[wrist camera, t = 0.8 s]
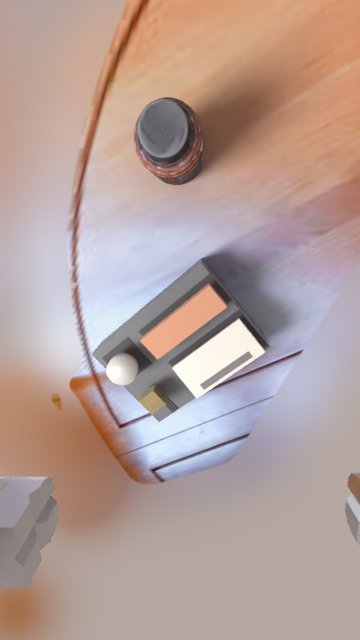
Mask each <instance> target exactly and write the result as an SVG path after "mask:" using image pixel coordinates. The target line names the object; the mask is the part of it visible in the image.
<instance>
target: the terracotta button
mask: <svg viewBox="0 0 360 640" xmlns="http://www.w3.org/2000/svg"><path fill="white" fill-rule="evenodd" d="M225 308H227V304H226V303H225V301H224V300H223V299H222V298H221V296H220V295H219V294H218V293H217V292H216V290H215V289H214V288H213V287H212V286H211V284H210V283H208V284H207V285H206V286H205V287H203V288H202V289H201V290H200V291H198V292H197V293H196V294H195V295H193V296H192V297H191V298H190V299H188V300H187V301H186V302H185V303H183V304H182V305H181V306H180V307H178V308H177V309H176V310H175V311H173V312H172V313H171V314H170V315H168V316H167V317H166V318H165V319H163V320H162V321H161V322H160V323H158V324H157V325H156V326H155V327H153V328H152V329H151V330H150V331H148V332H147V333H146V334H145V335H143V336H142V338H141V340H140V342H141V343H142V344H143V345H144V346H145V347H146V348H147V349H148V350H149V351H150V352H151V353H152V354H153V355H154V356H155V357H156V359H157V360H158V359H159V358H161V357H162V356H163V355H164V354H166V353H167V352H168V351H170V350H171V349H172V348H174V347H175V346H176V345H178V344H179V343H180V342H182V341H183V340H184V339H186V338H187V337H188V336H190V335H191V334H192V333H194V332H195V331H196V330H198V329H199V328H200V327H201V326H203V325H204V324H205V323H207V322H208V321H209V320H211V319H212V318H213V317H215V316H216V315H217V314H219V313H220V312H221V311H223V310H224V309H225Z"/></svg>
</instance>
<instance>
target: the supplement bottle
mask: <svg viewBox="0 0 360 640" xmlns="http://www.w3.org/2000/svg"><path fill="white" fill-rule="evenodd" d="M134 144H135V149H136V152H137V155H138V157H139V158H140V160H141V162H142V163H143V165H144V166H145V167H146V168H147V169H148V170H149V171H150V172H152V173H153V174H154V175H155V176H157V177H158V178H159V179H161V180H162V181H164V182H166V183H168V184H172V185H182V184H185V183H187V182H189V181H190V180H192V179H193V178H194V177H195V176H196V175H197V173H198V172H199V170H200V168H201V165H202V162H203V141H202V131H201V126H200V123H199V120H198V118H197V116H196V114H195V113H194V111H193V110H192V109H191V108H190V107H189V106H188V105H187V104H186V103H184V102H183V101H181V100H178V99H175V98H169V97H166V98H160V99H158V100H155V101H153V102H151V103H149V104H148V105H147V106H146V107H145V108H144V110H143V111H142V112H141V114H140V115H139V117H138V120H137V122H136V125H135V130H134Z"/></svg>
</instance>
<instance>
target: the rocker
mask: <svg viewBox="0 0 360 640" xmlns="http://www.w3.org/2000/svg"><path fill="white" fill-rule="evenodd" d="M264 353H265V350H264V348H263V347H262V346H261V345H260V343H259V342H258V341H257V340H256V338H255V337H254V336H253V335H252V333H251V332H250V331H249V330H248V328H247V327H246V326H245V324H244V323H243V322H242V321H241V319H240V318H238V319H236V320H235V321H234V322H232V323H231V324H230V325H228V326H227V327H225V328H224V329H223V330H221V331H220V332H219V333H217V334H216V335H215V336H213V337H212V338H210V339H209V340H208V341H206V342H205V343H204V344H202V345H201V346H200V347H198V348H197V349H195V350H194V351H193V352H191V353H190V354H189V355H187V356H186V357H185V358H183V359H182V360H181V361H179V362H178V363H176V364H175V365H174V366H173V367H172V369H173V370H174V371H175V373H176V374H177V375H178V376H179V378H180V379H181V380H182V381H183V382H184V384H185V385H186V386H187V387H188V389H189V390H190V391H191V392H192V394H193V395H194V396H195V397H196V399H197V398H198V397H200V396H201V395H203V394H204V393H206V392H207V391H209V390H210V389H212V388H213V387H215V386H216V385H218V384H219V383H221V382H222V381H224V380H225V379H227V378H228V377H229V376H231V375H232V374H234V373H235V372H237V371H238V370H240V369H241V368H243V367H244V366H246V365H247V364H249V363H250V362H252V361H253V360H255V359H256V358H258V357H259V356H261V355H262V354H264Z"/></svg>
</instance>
